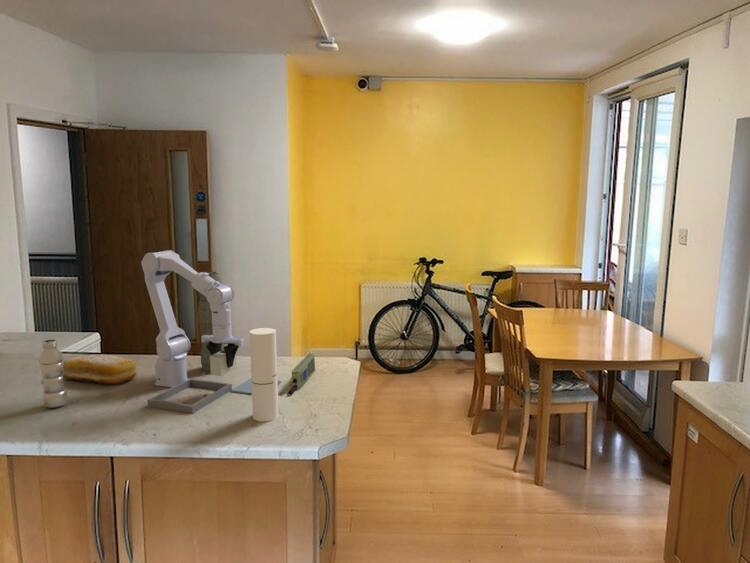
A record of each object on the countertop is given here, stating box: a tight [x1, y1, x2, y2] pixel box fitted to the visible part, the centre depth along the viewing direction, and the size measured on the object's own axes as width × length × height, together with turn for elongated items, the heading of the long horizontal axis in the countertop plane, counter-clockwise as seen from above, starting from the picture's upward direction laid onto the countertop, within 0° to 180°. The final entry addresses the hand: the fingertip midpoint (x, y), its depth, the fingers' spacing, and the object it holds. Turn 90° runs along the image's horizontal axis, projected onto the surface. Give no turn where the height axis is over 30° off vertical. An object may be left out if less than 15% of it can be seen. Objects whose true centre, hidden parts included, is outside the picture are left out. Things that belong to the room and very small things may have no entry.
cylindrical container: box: [249, 327, 279, 422], centre depth 159 cm, size 7×7×25 cm
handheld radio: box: [287, 353, 316, 396], centre depth 188 cm, size 7×3×25 cm
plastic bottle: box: [38, 339, 68, 409], centre depth 167 cm, size 6×7×20 cm
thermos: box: [195, 271, 226, 374], centre depth 199 cm, size 9×12×35 cm
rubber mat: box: [230, 377, 282, 396], centre depth 184 cm, size 11×13×1 cm
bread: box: [63, 354, 138, 386], centre depth 192 cm, size 13×26×8 cm, turn 73°
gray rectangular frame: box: [147, 377, 233, 414], centre depth 175 cm, size 16×20×2 cm
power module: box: [210, 349, 237, 377], centre depth 178 cm, size 4×8×7 cm, turn 160°
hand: (223, 365), depth 178 cm, fingers closed on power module, 4 cm apart
